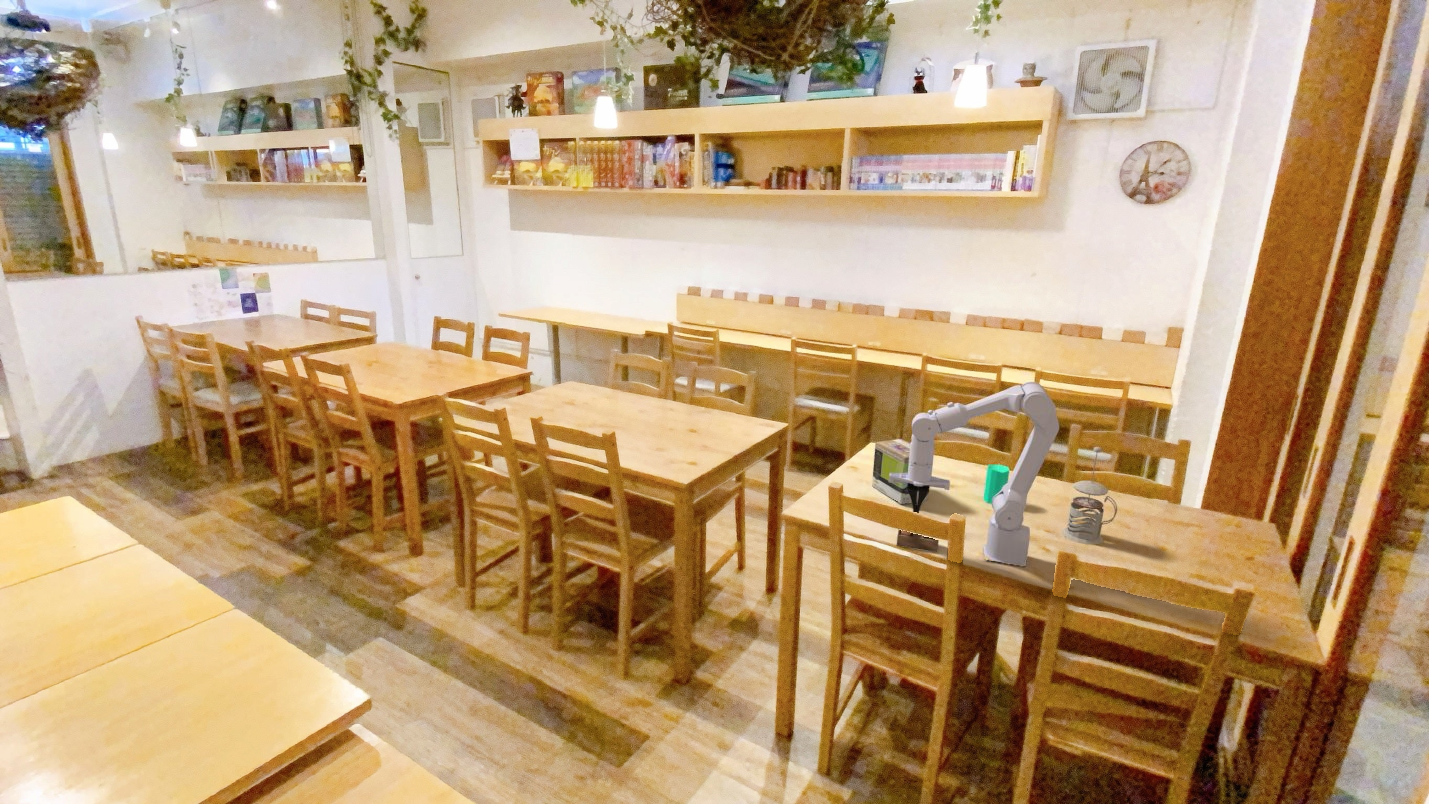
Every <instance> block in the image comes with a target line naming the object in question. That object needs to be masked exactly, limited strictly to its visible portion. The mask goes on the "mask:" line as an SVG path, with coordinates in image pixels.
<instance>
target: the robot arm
mask: <svg viewBox="0 0 1429 804" xmlns="http://www.w3.org/2000/svg"><path fill="white" fill-rule="evenodd" d="M1056 407H1057V406H1056V405H1055V403H1054V401H1053V400H1052V399H1051V397H1050V395H1049V393H1048V392H1047V390H1046V389H1045V388H1044V386H1043V385H1041V384H1040V383H1039V382H1035V381H1028V382H1024V383H1023V384H1015V385H1013V386H1011V387H1008V388H1006V389H1004V390H1001V391H1000V392H997V393H996V392H995V393H994V394H991V395H989V396H986V397H984V398H981V399H979V400H976V401H973V402H971V403H968V404H962V403H960V402H955V403H953V402H952V401H950V402H948V403H946V406H944V407H941V408H938V409H935V410H933V409H929V410H928V411H927V412H919V413H917V414H916V415H915V416H914V417H913V419H912V421H911V432H912V434H911V436H910V437H911V438H910V439H911V442H909V443H910V454H909V466H908V473H890V475H889V483H893V482H897V483H905V484H908V485H907V490H908V493H909V495H910V498H911V501H912V503H911V504H912V510H913V511H912V512H917V513H916V514H919V513H920V510H921V506H922V504H923V502H924V501H925V500H924V499H925V497H926V496H927V494H929V492H930V487H931V488H938V489H944V490H946V491H949V490H950V485H951V484H950V483H951V479H945V478H941V477H937V476H932V475H933V464H934V455H935V443H934V442H935V438H936V437H937V435H938V434H944V433H946V432H950V431H953V430H955V429H958V428H962V427H964V426H967V425H968V423H969V421H970V420H971V419H973V418H976V417H980V416H984V415H987V414H991V413H994V412H998V411H1002V410H1007V411H1010V412H1013V413H1017V414H1019V413H1020V409H1021V410H1022V412H1023V413H1024V414H1025V415H1026V417H1028V418H1029V419H1030V420H1031V422H1032V424H1033V428H1032V431H1031V433H1030V435H1029V436H1028V439H1027V441H1026V443H1025V445H1024V447H1023V449H1022V451H1021V454H1020V456H1019V459H1018V460H1017V462H1016V463H1015V466H1014V469H1013V470H1012V472H1011V475H1010V477H1009V478H1008V483H1007V484H1005V485H1004V486H1003V487H1002V489H1001V491H1000V492H999V493H998V494H996V495H995V496H994V497H993V499H992V504H991V507H992V509H993V514H992V516H990V517H989V522H988V523H989V524H988V530H987V531H988V532H987V538H986V544H982V545H983V546H982V547H983V548H982V549H984V551H983V556H984V555H985V556H988V557H990V558H992V559H988V560H993V561H997V562H1002V563H1001V564H1004V563H1009V564H1008V565H1010V564H1014V565H1013V566H1016V565H1021V566H1020V567H1023V566H1026V567H1027V558H1028V554H1029V545H1030V539H1031V538H1030V537H1031V531H1030V526H1028V525H1024V524H1023V522H1024V510H1025V509H1026V506H1027V501H1028V500H1027V499H1028V494H1029V493H1030V490H1031V488H1032V486H1033V484H1034V482H1035V481H1036V478H1037V476H1038V473H1039V471H1040V470H1041V468H1042V466H1043V463H1044V462H1045V459H1046V457H1047V455H1048V453H1049V451H1050V449H1051V447H1052V446H1053V443H1054V441H1055V439H1056V437H1057V434H1058V433H1059V431H1060V423H1059V419H1058V415H1057V410H1056ZM918 486H919V494H918V502H917V490H918ZM927 497H928V496H927ZM923 500H924V501H923ZM997 562H996V563H997Z"/></svg>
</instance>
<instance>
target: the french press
mask: <svg viewBox="0 0 1429 804" xmlns="http://www.w3.org/2000/svg"><path fill="white" fill-rule="evenodd" d="M1102 450H1103V449H1102V448H1101V447H1099V446H1095V447H1093V451H1092V452H1095V453H1096V454H1095V459H1094V466H1093V471H1092V475H1091V480H1080V481H1075V482H1074V483H1073V489H1075V490H1076V491H1078V492H1079V493H1082V494H1085V495H1088V496H1076V497H1073V498H1072V502H1071V503H1070V508H1069V514H1068V519H1067V525H1066V527H1064V528H1063V529H1062V530H1061V535H1062V536H1064V537H1065V538H1067V539H1068V540H1070V541H1073V542H1075V543H1079V544H1083V545H1099V544H1101V543H1103V541H1104V539H1103V537H1102V535H1101V533H1102V527H1103V525H1108V524H1110V523H1111V522H1113V521H1114V519H1115V517H1116V515H1117V513H1118V505H1117V502H1116V501H1115V500H1114V499H1113V498H1112V497H1111V496H1110V495H1107V494H1108V493H1109V489H1108V488H1107V487H1106V486H1105V485H1103V484H1101V483H1099V482H1096V481H1093V479H1094V475H1095V469H1096V463H1097V458H1098V453H1099V454H1100V453H1102ZM1105 495H1106V496H1105ZM1091 496H1095V497H1096V496H1098V497H1101V496H1105V498H1104V503H1107V501H1109V503H1111V504H1112V505H1113V508H1114V513H1113V517H1112V518H1110V519H1109V520H1104V521H1103V517H1104V508H1103V507H1104V503H1103V502H1102V501H1101V500H1098V499H1095V498H1093V497H1091ZM1079 509H1083V510H1079ZM1096 510H1097V511H1096ZM1089 512H1090V513H1089ZM1091 512H1092V513H1091ZM1078 518H1079V519H1078ZM1077 522H1078V523H1077Z"/></svg>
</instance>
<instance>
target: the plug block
mask: <svg viewBox="0 0 1429 804" xmlns="http://www.w3.org/2000/svg"><path fill="white" fill-rule="evenodd" d="M896 538H897V539H896V547H903V548H909V549H915V550H920V551H929V552H932V553H938V551H939V550H938V548H939V541H940V540H932V539H927V538H926V537H924V536H922V535H918V534H913V533H911V536H906V535H901V530H899V529H898V531H897V537H896Z"/></svg>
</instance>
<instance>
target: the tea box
mask: <svg viewBox="0 0 1429 804" xmlns="http://www.w3.org/2000/svg"><path fill="white" fill-rule="evenodd" d="M874 443H875V444H874V445H875V446H874V456H873V457H874V458H873V470H872V480H871V481H872V483H871V486H872V487H873V488H875V489H876V490H878V491H880V492H881V493H882V494H884V495H885V496H887V497H889V498H890V499H892V500H893V499H894V500H893V501H895V500H896V501H898V502H899V503H900V504H899V503H898V502H897V503H898V504H899V505H905V503H907V504H912V501H911V498H910V495H909V493H908V490H907V485H908V484H905V483H897V482H893V483H889V475H890V473H908V466H909V454H910V443H911V442H908V441H906V440H905V439H902V438H897V439H892V440H891V439H890V440H882V441H876V442H874ZM918 494H919V486H918V490H917V501H918ZM928 494H929V493H928ZM928 494H927V496H926V497H925V499H924V500H923V502H924V501H927V500H928ZM896 501H895V502H896Z"/></svg>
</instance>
